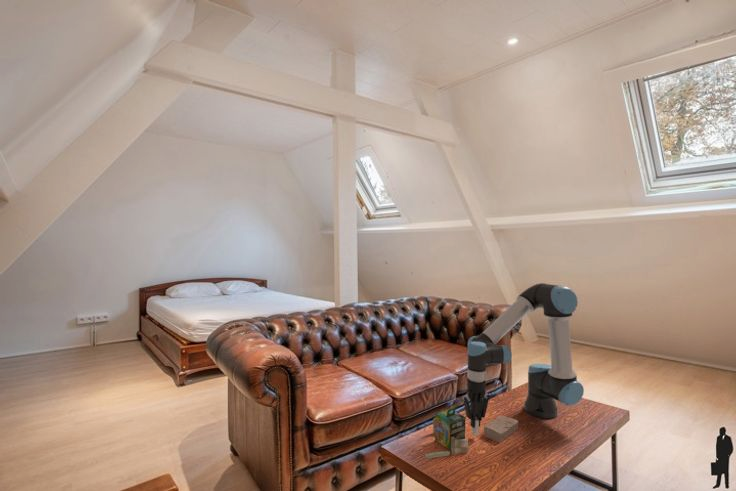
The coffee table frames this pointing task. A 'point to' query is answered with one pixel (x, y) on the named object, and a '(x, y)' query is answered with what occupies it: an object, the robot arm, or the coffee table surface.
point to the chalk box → (449, 427)
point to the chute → (456, 444)
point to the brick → (500, 428)
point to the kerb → (437, 454)
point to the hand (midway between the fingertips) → (475, 434)
